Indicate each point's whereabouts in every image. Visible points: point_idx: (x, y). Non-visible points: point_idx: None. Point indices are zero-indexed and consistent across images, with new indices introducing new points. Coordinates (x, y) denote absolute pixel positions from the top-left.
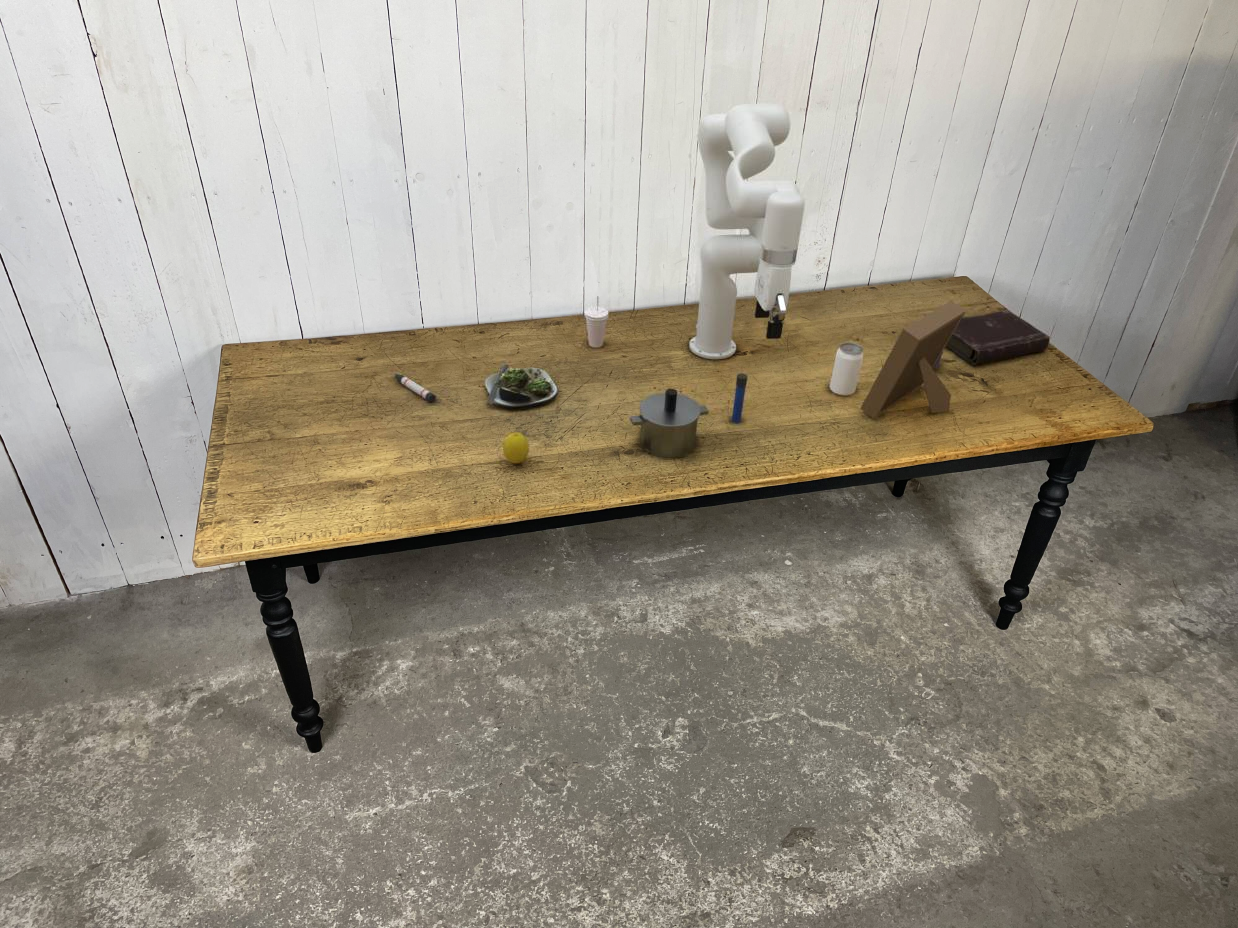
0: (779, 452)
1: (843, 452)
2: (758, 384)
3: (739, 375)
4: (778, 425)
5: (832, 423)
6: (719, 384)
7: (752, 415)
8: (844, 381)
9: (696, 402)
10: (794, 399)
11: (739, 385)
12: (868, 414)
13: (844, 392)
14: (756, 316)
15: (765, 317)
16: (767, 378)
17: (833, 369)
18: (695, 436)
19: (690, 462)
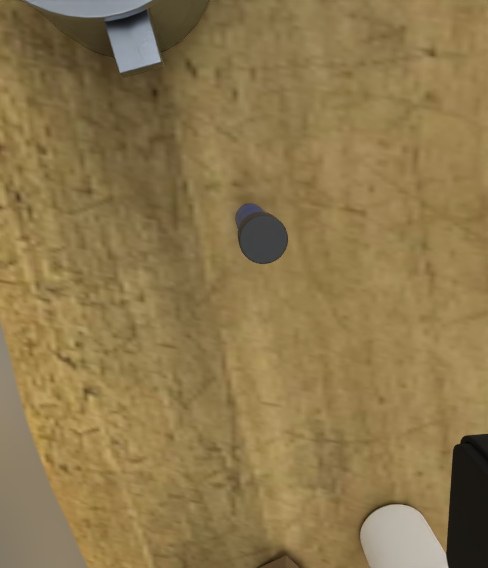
0: (89, 316)
1: (101, 474)
2: (444, 319)
3: (267, 227)
4: (224, 337)
5: (233, 475)
6: (460, 198)
7: (277, 273)
8: (376, 561)
9: (138, 7)
10: (355, 404)
11: (241, 223)
12: (265, 565)
13: (363, 536)
14: (467, 455)
15: (451, 538)
16: (474, 351)
17: (426, 553)
18: (79, 38)
19: (10, 26)
